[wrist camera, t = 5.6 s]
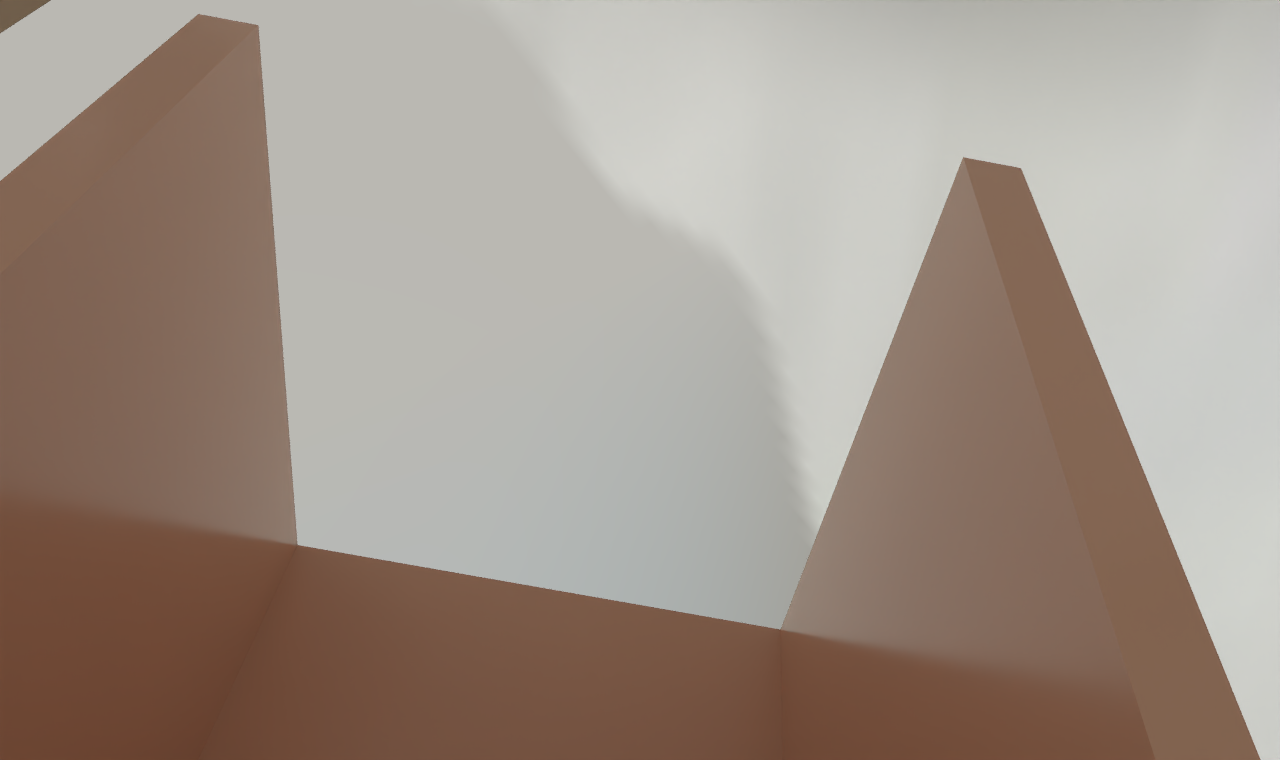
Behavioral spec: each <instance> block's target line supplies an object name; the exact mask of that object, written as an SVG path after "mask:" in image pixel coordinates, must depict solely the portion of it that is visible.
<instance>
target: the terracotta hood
mask: <svg viewBox="0 0 1280 760" xmlns="http://www.w3.org/2000/svg"><path fill="white" fill-rule="evenodd" d="M292 480H293V479H292V467H291V454H290V440H289V427H288V414H287V400H286V387H285V373H284V360H283V347H282V334H281V320H280V307H279V293H278V281H277V267H276V254H275V241H274V228H273V214H272V201H271V187H270V174H269V162H268V148H267V135H266V121H265V107H264V95H263V82H262V68H261V56H260V41H259V28H258V25H254V24H248V23H243V22H238V21H232V20H227V19H222V18H217V17H211V16H206V15H200V14H198V15H197V16H196V17H195V18H193V19H192V20H191V21H190V22H189V23H187V24H186V25H185V26H184V27H183V28H181V29H180V30H179V31H178V32H177V33H176V34H174V35H173V36H172V37H171V38H170V39H168V40H167V41H166V42H165V43H164V44H162V45H161V46H160V47H159V48H158V49H156V50H155V51H154V52H153V53H152V54H151V55H149V56H148V57H147V58H146V59H145V60H144V61H142V62H141V63H140V64H139V65H138V66H136V67H135V68H134V69H133V70H132V71H130V72H129V73H128V74H127V75H126V76H124V77H123V78H122V79H121V80H120V81H119V82H117V83H116V84H115V85H114V86H113V87H111V88H110V89H109V90H108V91H107V92H105V93H104V94H103V95H102V96H101V97H100V98H98V99H97V100H96V101H95V102H94V103H93V104H91V105H90V106H89V107H88V108H87V109H85V110H84V111H83V112H82V113H81V114H79V115H78V116H77V117H76V118H75V119H74V120H72V121H71V122H70V123H69V124H68V125H66V126H65V127H64V128H63V129H62V130H60V131H59V132H58V133H57V134H56V135H55V136H53V137H52V138H51V139H50V140H49V141H47V142H46V143H45V144H44V145H43V146H41V147H40V148H39V149H38V150H37V151H36V152H34V153H33V154H32V155H31V156H30V157H28V158H27V159H26V160H25V161H24V162H23V163H21V164H20V165H19V166H18V167H17V168H15V169H14V170H13V171H12V172H11V173H10V174H8V175H7V176H6V177H5V178H4V179H2V180H1V181H0V760H1260V758H1259V755H1258V753H1257V750H1256V748H1255V745H1254V743H1253V740H1252V738H1251V735H1250V733H1249V730H1248V728H1247V725H1246V723H1245V720H1244V718H1243V716H1242V713H1241V711H1240V708H1239V706H1238V703H1237V701H1236V698H1235V696H1234V693H1233V691H1232V688H1231V686H1230V683H1229V681H1228V678H1227V676H1226V674H1225V671H1224V669H1223V666H1222V664H1221V661H1220V659H1219V656H1218V654H1217V651H1216V649H1215V646H1214V644H1213V641H1212V639H1211V637H1210V634H1209V632H1208V629H1207V627H1206V624H1205V622H1204V619H1203V617H1202V614H1201V612H1200V609H1199V607H1198V604H1197V602H1196V599H1195V597H1194V595H1193V592H1192V590H1191V587H1190V585H1189V582H1188V580H1187V577H1186V575H1185V572H1184V570H1183V567H1182V565H1181V562H1180V560H1179V558H1178V555H1177V553H1176V550H1175V548H1174V545H1173V543H1172V540H1171V538H1170V535H1169V533H1168V530H1167V528H1166V525H1165V523H1164V520H1163V518H1162V516H1161V513H1160V511H1159V508H1158V506H1157V503H1156V501H1155V498H1154V496H1153V493H1152V491H1151V488H1150V486H1149V483H1148V481H1147V478H1146V476H1145V474H1144V471H1143V469H1142V466H1141V464H1140V461H1139V459H1138V456H1137V454H1136V451H1135V449H1134V446H1133V444H1132V441H1131V439H1130V437H1129V434H1128V432H1127V429H1126V427H1125V424H1124V422H1123V419H1122V417H1121V414H1120V412H1119V409H1118V407H1117V404H1116V402H1115V399H1114V397H1113V395H1112V392H1111V390H1110V387H1109V385H1108V382H1107V380H1106V377H1105V375H1104V372H1103V370H1102V367H1101V365H1100V362H1099V360H1098V357H1097V355H1096V353H1095V350H1094V348H1093V345H1092V343H1091V340H1090V338H1089V335H1088V333H1087V330H1086V328H1085V325H1084V323H1083V320H1082V318H1081V316H1080V313H1079V311H1078V308H1077V306H1076V303H1075V301H1074V298H1073V296H1072V293H1071V291H1070V288H1069V286H1068V283H1067V281H1066V278H1065V276H1064V274H1063V271H1062V269H1061V266H1060V264H1059V261H1058V259H1057V256H1056V254H1055V251H1054V249H1053V246H1052V244H1051V241H1050V239H1049V237H1048V234H1047V232H1046V229H1045V227H1044V224H1043V222H1042V219H1041V217H1040V214H1039V212H1038V209H1037V207H1036V204H1035V202H1034V199H1033V197H1032V195H1031V192H1030V190H1029V187H1028V185H1027V182H1026V180H1025V177H1024V175H1023V172H1022V170H1021V168H1017V167H1012V166H1006V165H1001V164H996V163H990V162H985V161H980V160H974V159H969V158H964V157H963V159H962V162H961V164H960V167H959V170H958V172H957V175H956V177H955V180H954V182H953V185H952V188H951V190H950V193H949V195H948V198H947V201H946V203H945V206H944V208H943V211H942V214H941V216H940V219H939V221H938V224H937V226H936V229H935V232H934V234H933V237H932V239H931V242H930V245H929V247H928V250H927V252H926V255H925V257H924V260H923V263H922V265H921V268H920V270H919V273H918V276H917V278H916V281H915V283H914V286H913V288H912V291H911V294H910V296H909V299H908V301H907V304H906V307H905V309H904V312H903V314H902V317H901V320H900V322H899V325H898V327H897V330H896V332H895V335H894V338H893V340H892V343H891V345H890V348H889V351H888V353H887V356H886V358H885V361H884V363H883V366H882V369H881V371H880V374H879V376H878V379H877V382H876V384H875V387H874V389H873V392H872V394H871V397H870V400H869V402H868V405H867V407H866V410H865V413H864V415H863V418H862V420H861V423H860V426H859V428H858V431H857V433H856V436H855V438H854V441H853V444H852V446H851V449H850V451H849V454H848V457H847V459H846V462H845V464H844V467H843V469H842V472H841V475H840V477H839V480H838V482H837V485H836V488H835V490H834V493H833V495H832V498H831V500H830V503H829V506H828V508H827V511H826V513H825V516H824V519H823V521H822V524H821V526H820V529H819V531H818V534H817V537H816V539H815V542H814V544H813V547H812V550H811V552H810V555H809V557H808V560H807V563H806V565H805V568H804V570H803V573H802V575H801V578H800V581H799V583H798V586H797V589H796V591H795V594H794V596H793V599H792V601H791V604H790V606H789V609H788V612H787V614H786V617H785V620H784V622H783V625H782V627H781V630H779V629H773V628H768V627H762V626H756V625H751V624H745V623H739V622H734V621H728V620H722V619H716V618H711V617H705V616H699V615H694V614H688V613H682V612H676V611H671V610H665V609H659V608H654V607H648V606H642V605H636V604H630V603H625V602H619V601H614V600H608V599H602V598H596V597H590V596H585V595H579V594H574V593H568V592H562V591H556V590H551V589H545V588H539V587H533V586H528V585H522V584H516V583H511V582H505V581H499V580H494V579H488V578H482V577H476V576H471V575H465V574H459V573H454V572H448V571H442V570H436V569H431V568H425V567H419V566H413V565H407V564H402V563H396V562H391V561H385V560H379V559H373V558H367V557H362V556H356V555H350V554H345V553H339V552H333V551H328V550H322V549H316V548H311V547H304V546H299V545H297V533H296V520H295V506H294V493H293V481H292Z"/></svg>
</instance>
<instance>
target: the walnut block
mask: <svg viewBox="0 0 1280 760" xmlns="http://www.w3.org/2000/svg"><path fill="white" fill-rule="evenodd" d="M49 1H50V0H0V33H1V32H3V31H4V30H6V29H7V28H9V27H11V26H12V25H14V24H15V23H17V22H18V21H20V20H21V19H23V18H24V17H26V16H27V15H29V14H30V13H32V12H33V11H35V10H37V9H38V8H40V7H41V6H43V5H44V4H46V3H47V2H49Z"/></svg>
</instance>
